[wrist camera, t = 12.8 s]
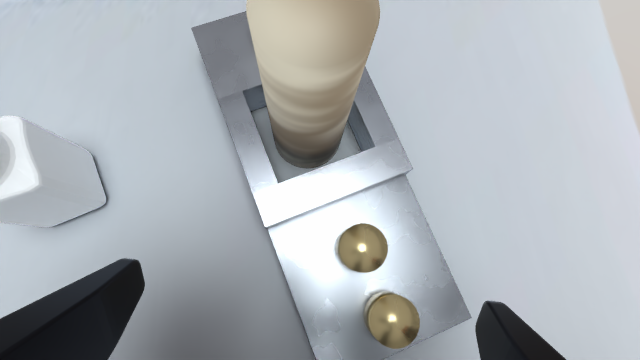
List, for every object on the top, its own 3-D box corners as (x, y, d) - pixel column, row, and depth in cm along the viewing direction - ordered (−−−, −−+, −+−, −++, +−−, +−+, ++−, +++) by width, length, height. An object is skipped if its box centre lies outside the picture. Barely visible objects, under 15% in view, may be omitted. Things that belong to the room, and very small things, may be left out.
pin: (288, 177, 22) (275, 86, 11) (264, 119, 23) (227, -26, 11) (350, 153, 23) (401, 42, 11) (324, 97, 24) (347, -62, 12)
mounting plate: (324, 376, 20) (331, 413, 15) (204, 56, 24) (181, 7, 19) (459, 313, 21) (505, 329, 16) (324, 18, 25) (329, -37, 20)
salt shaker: (94, 149, 22) (-56, 70, 13) (113, 205, 21) (-31, 166, 12) (30, 173, 21) (-176, 109, 12) (47, 232, 21) (-157, 212, 11)
